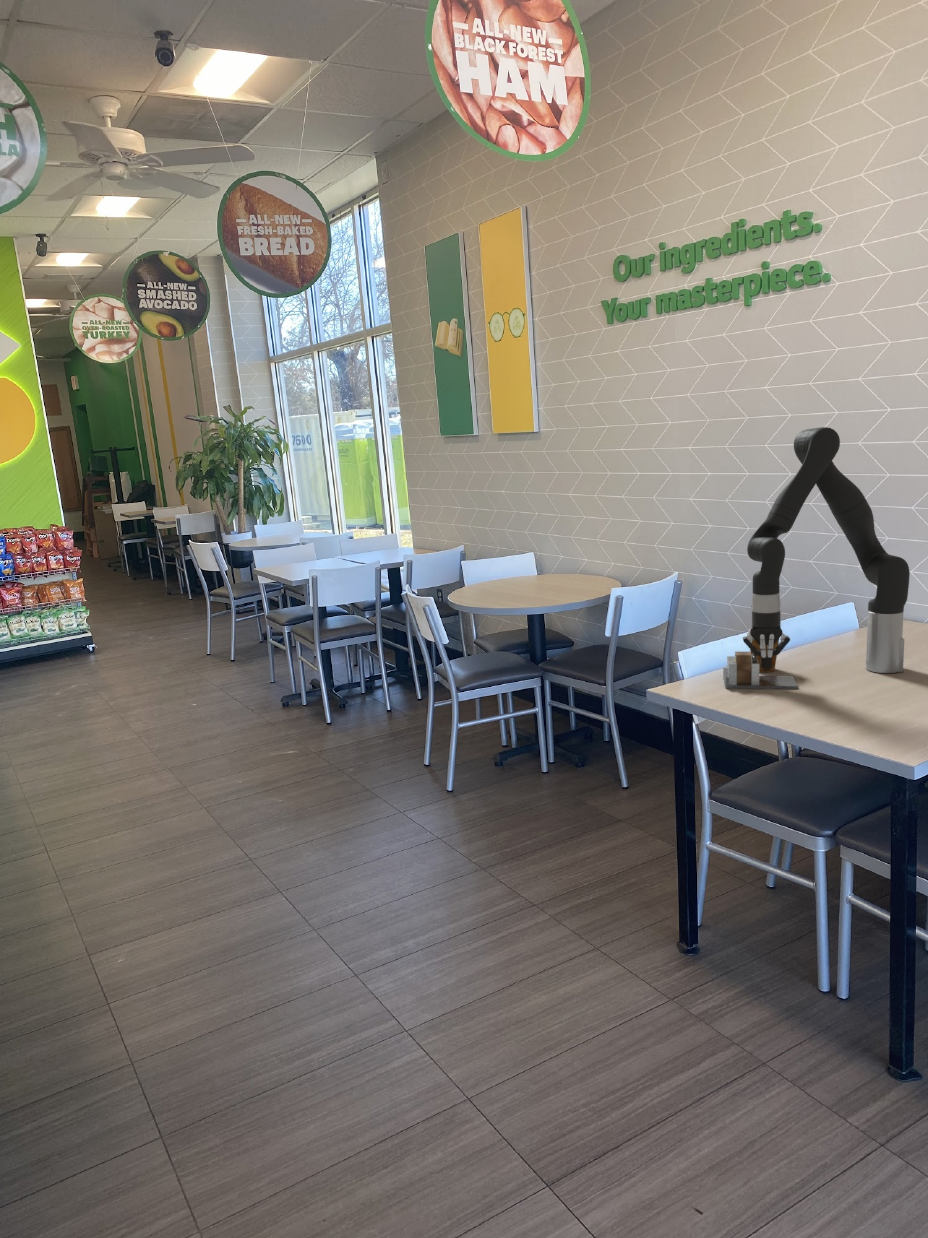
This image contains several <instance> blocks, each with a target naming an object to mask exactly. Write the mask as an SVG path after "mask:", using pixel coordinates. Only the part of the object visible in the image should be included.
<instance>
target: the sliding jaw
mask: <svg viewBox="0 0 928 1238" xmlns="http://www.w3.org/2000/svg"><path fill="white" fill-rule="evenodd" d="M759 676H760V672H759V661H758V659H757V656H756V655H755V654H754V653H752V654H751V684H752V685H759Z"/></svg>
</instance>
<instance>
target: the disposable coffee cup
mask: <svg viewBox="0 0 928 1238" xmlns="http://www.w3.org/2000/svg"><path fill="white" fill-rule="evenodd" d="M751 628H752V627H750V628H749V629H748V631H747V633H746V636H747V635H749V634H750V630H751ZM779 641H780V638H779V639H778V640H777V642H776V643H775V644H773V650H774V649H775V648H776V647H777V645H778V644H779V643H780V642H779ZM752 644H753V645H754V646H755V647H756V649H757V650H759V651H760V645H759V644H758V643H757V642H756V641H755V640H754V638H753V637H752ZM765 651H766V656H767V645H765ZM749 652H750V653H751V654H752V653H753V652H752V651H751V649H750V648H749ZM777 656H778V655H775V656H773V657H772V667H771V668H769V670H764V669H763V668H762V667H761V657H760V656H758V655H757V659H758V661H759V673H771V672H774V671H775V670H776V664H777V663H776V662H777V658H778V657H777Z"/></svg>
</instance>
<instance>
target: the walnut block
mask: <svg viewBox="0 0 928 1238" xmlns="http://www.w3.org/2000/svg"><path fill="white" fill-rule="evenodd" d="M734 657H735V660H736V663H737V683H751V653H750V651H734Z"/></svg>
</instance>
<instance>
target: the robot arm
mask: <svg viewBox="0 0 928 1238" xmlns="http://www.w3.org/2000/svg"><path fill="white" fill-rule="evenodd" d="M840 447H841V440H840V436H839V434H838V432H837V431H836V430H835V429H834V428H831V427H828V426H826V427H825V426H824V427H813V428H807V429H803V430H801V431H799V432H798V433H797V434H796V435H795V438H794V441H793V450H794V454H795V456H796V458H797V459H798V461H799V462H800V463H801V466H800V468H799V469H798V471H797V472H796V474H795V475H794V476H793V477H792V479H791V480H790V481H789V482H788V483H787V485H786V486H785V487H784V488H783V489H782V490H781V492H780V493H779V494H778V496H777V497H776V498H775V501H774V503H773V505H772V506H771V509H770V511H769V512H768V514H767V517H766V518H765V520H764V521H763V522H762V523H761V524H760V526H759V527H758V528H757V529H756V531H755V532H753V534H752V536H751V537H750V539H749V541H748V544H747V547H746V549H747V550H746V551H747V555H748V557H749V558H750V560H752V561H754V562H758V563H761V566H760V570H759V571H758V570H757V571H756V572H754V573H753V576H752V594H751V595H752V597H751V627H750V628H751V630H750V634H749V635H747V634H746V636H743V637H742V641H743V643H744V644H745V645H746V647H748V649H749V650H750V649H751V651H752V652H753V653H754V654H755V655H756V656H757V655H758V656H760V657H761V667H762V668H763V669H764V670H769V668H771V667H772V657H773V656H775V655H777V656H779V655H780V654H781V652H782V651H783V649H785V648H786V646H787V645H788V644H789V643H790V641H791V638H790V636H789V635H786V634H785V633H783V632H784V631H783V630H782V628H781V627H782V625H781V623H782V621H781V620H782V619H781V612H782V611H781V607H782V606H781V603H782V602H781V596H780V593H781V592H780V590H781V589H780V586H781V585H780V577H781V574H782V571H783V567H784V562H785V558H786V548H785V545H784V543H783V542H782V540H781V539H779V537H780V536H782V535H783V534H788V533H789V532H790V531H791V529H792V528H793V526H794V524H795V522H796V519H797V518H798V516H799V514H800V512H801V510H802V507H803V506H804V504H805V502H806V500H807V498H808V497H809V495H810V494H811V492H812V490H813V489H814V487H815V486H816V487H817V489H818V490H819V492H820V494H821V496H822V497H823V499H824V500H825V502H826V504H827V506H828V508H829V509H830V511H831V513H832V515H833V517H834V519H835V521H836V522H837V524H838V525H839V528H840V529H841V530H842V533H844V535H845V537H846V539H847V540H848V542H849V544H850V545H851V547H852V549H853V551H854V553H855V555H856V557H857V558H856V559H857V560H858V562H859V565H860V567H861V570H862V572H863V575H864V577H865V578H866V579H867V581H868V582H870V584H873V585H874V586H876V594H875V597H874V598H872V599H869V601H868V603H867V624H866V625H867V627H866V628H867V629H866V648H865V649H866V651H865V652H866V653H865V655H866V657H865V669H866V670H867V671H869V672H874V673H880V674H895V673H900V672H901V673H903V672H904V662H905V661H904V658H905V638H904V637H903V636H904V635H903V632H904V630H903V629H904V612H905V611H904V610H905V606H906V603H907V601H908V596H909V587H910V586H909V585H910V567H909V564H908V562H907V561H906V560H905V558H902V557H900V556H897V555H893V554H889V553H888V552H887V551H886V550H885V548H884V547H883V544H881V542H880V541H879V539H878V537H877V534H876V531H875V530H876V529H875V520H874V519H875V518H874V514H873V510H872V508H871V506H870V504H869V502H868V501H867V499H866V497H865V496H864V494H863V492H862V491H861V489H860V488H859V487H858V486H857V485H856V484H854V482H853V481H851V480H850V479H849V478H848V477H847V476H846V475H845V474H843V473H842V472H841V471H840V470H839V469H838V467H837V466H836V465H835V463H834V462H833V460H834V458H835V457H836V456H837V454H838V452H839V450H840ZM752 637H753V638H754V640H755V641H756V642H757V643H758V644H759V645H760V651H759V650H757V649H756V647H755V646H754V645H753V644H752ZM778 639H779V641H780V642H779V644H778V645H777V647H776V648H775V649H774V650H773V644H775V643H776V642H777V640H778ZM765 645H767V656H766V651H765Z"/></svg>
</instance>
